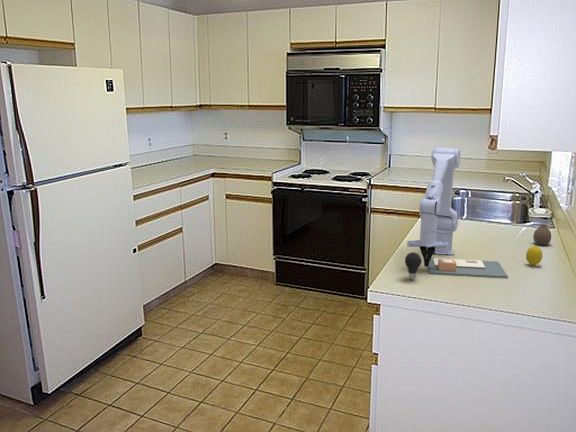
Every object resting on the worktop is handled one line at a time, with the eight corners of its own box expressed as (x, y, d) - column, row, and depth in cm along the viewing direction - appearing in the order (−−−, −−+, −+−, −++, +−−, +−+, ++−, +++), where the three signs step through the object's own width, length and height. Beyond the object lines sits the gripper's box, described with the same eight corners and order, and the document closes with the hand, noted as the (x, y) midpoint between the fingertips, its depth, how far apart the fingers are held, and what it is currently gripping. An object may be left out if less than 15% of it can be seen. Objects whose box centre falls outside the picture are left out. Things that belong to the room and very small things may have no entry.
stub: (437, 266, 189) (438, 258, 188) (454, 267, 188) (455, 259, 187) (438, 270, 185) (439, 262, 185) (455, 271, 184) (456, 263, 184)
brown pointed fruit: (534, 246, 215) (536, 226, 213) (530, 241, 222) (533, 222, 220) (552, 247, 214) (554, 227, 211) (548, 242, 220) (550, 223, 218)
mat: (425, 259, 200) (426, 257, 199) (498, 263, 195) (498, 261, 194) (429, 274, 184) (429, 272, 184) (507, 278, 179) (507, 276, 179)
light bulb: (408, 283, 176) (410, 256, 173) (401, 277, 181) (402, 251, 179) (423, 281, 177) (424, 254, 175) (415, 276, 183) (416, 249, 180)
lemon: (527, 262, 196) (529, 242, 194) (542, 265, 192) (545, 245, 190) (523, 266, 192) (525, 246, 190) (538, 269, 188) (541, 248, 186)
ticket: (432, 259, 197) (433, 257, 197) (481, 261, 194) (481, 260, 194) (434, 266, 190) (435, 264, 190) (485, 269, 187) (485, 267, 186)
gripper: (408, 232, 182) (406, 268, 185) (450, 234, 179) (447, 270, 183) (407, 227, 189) (405, 262, 192) (447, 229, 186) (445, 264, 190)
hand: (426, 265), depth 188 cm, fingers closed
